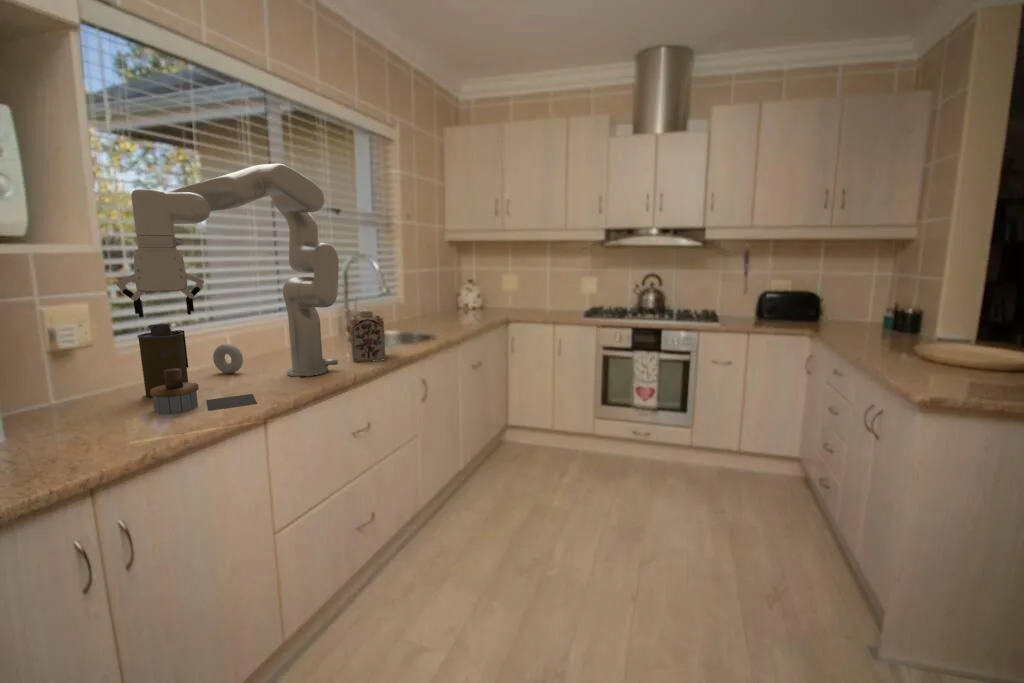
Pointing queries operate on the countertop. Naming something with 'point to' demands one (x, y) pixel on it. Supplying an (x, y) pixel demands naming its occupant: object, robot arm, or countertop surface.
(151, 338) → the canister
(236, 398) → the mat
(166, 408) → the grey short cylinder
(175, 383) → the lid
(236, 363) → the donut
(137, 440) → the countertop surface
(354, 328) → the decorative jar
